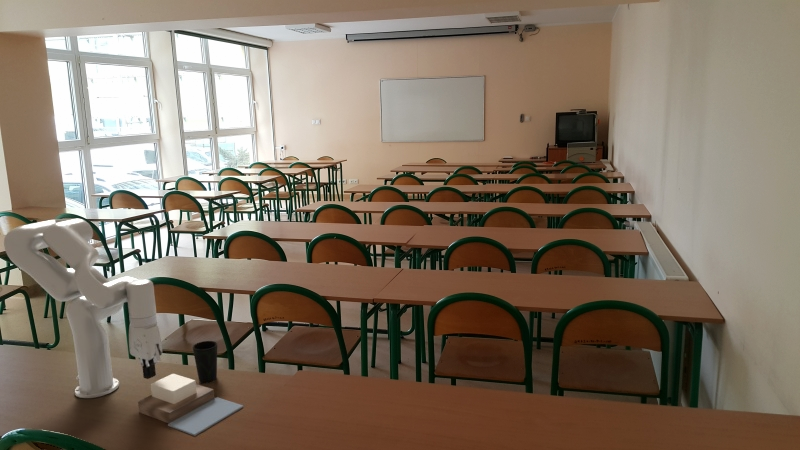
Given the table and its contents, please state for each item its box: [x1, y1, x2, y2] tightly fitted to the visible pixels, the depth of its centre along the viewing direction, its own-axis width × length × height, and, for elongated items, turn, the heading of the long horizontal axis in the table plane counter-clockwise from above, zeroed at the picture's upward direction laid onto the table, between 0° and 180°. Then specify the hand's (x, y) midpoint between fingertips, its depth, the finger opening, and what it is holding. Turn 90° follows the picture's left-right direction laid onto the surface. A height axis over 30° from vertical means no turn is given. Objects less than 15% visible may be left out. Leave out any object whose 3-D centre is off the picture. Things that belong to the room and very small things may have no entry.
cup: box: [192, 340, 218, 384], centre depth 190 cm, size 8×8×12 cm
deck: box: [137, 383, 216, 424], centre depth 173 cm, size 14×16×4 cm
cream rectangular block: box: [150, 373, 197, 404], centre depth 173 cm, size 10×8×4 cm
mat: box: [167, 396, 244, 437], centre depth 168 cm, size 11×18×1 cm, turn 150°
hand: (149, 376), depth 178 cm, fingers closed
